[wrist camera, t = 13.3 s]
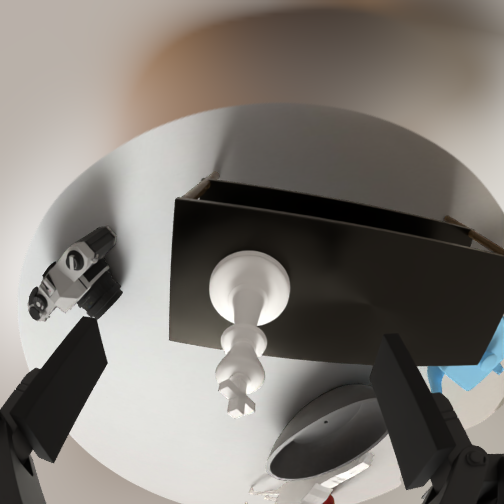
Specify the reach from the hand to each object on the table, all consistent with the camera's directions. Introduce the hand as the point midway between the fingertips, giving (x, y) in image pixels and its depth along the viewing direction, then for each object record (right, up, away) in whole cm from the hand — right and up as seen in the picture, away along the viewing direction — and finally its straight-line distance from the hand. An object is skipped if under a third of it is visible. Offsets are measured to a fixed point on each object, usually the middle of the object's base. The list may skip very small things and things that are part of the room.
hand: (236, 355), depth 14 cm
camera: (-18, +2, +22) cm, 28 cm away
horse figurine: (+10, -35, +34) cm, 50 cm away
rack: (+10, +6, +19) cm, 22 cm away
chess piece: (+1, +2, +6) cm, 7 cm away
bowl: (+11, -19, +28) cm, 36 cm away
